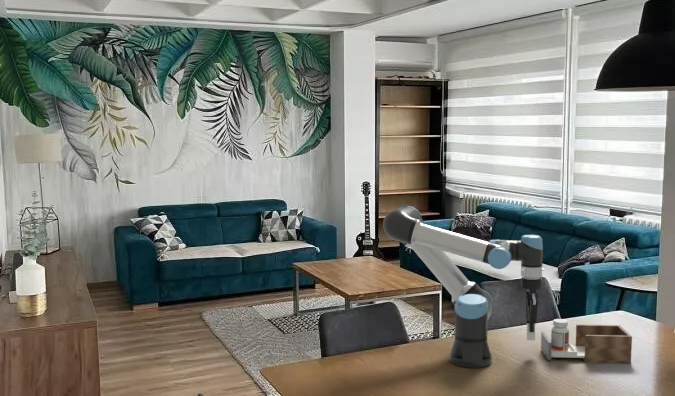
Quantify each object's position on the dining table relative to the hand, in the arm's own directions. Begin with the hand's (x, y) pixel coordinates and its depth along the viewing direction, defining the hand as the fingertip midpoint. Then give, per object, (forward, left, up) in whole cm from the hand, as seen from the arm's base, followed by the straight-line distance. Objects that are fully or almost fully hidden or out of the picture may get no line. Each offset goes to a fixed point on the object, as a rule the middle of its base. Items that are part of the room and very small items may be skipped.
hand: (530, 339), depth 265 cm
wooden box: (+26, 0, -6) cm, 27 cm away
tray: (+13, 0, -6) cm, 14 cm away
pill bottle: (+11, 0, -4) cm, 11 cm away
